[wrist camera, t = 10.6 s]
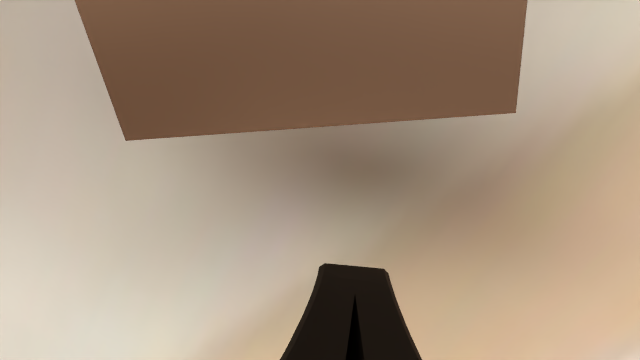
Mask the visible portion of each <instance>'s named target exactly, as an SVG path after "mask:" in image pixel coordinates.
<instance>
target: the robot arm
mask: <svg viewBox="0 0 640 360" xmlns="http://www.w3.org/2000/svg"><path fill="white" fill-rule="evenodd" d="M280 360H422V359H421V357H420V355H419V352H418V350H417V348H416V346H415V344H414V342H413V340H412V337H411V335H410V333H409V330H408V328H407V326H406V323H405V321H404V318H403V316H402V313H401V311H400V308H399V306H398V303H397V300H396V297H395V294H394V291H393V288H392V285H391V282H390V278H389V274H388V273H387V272H386V271H385V270H384V269H379V268H369V267H358V266H348V265H337V264H326V263H325V264H323V265H322V266H320V267H319V270H318V276H317V279H316V283H315V286H314V289H313V292H312V294H311V297H310V300H309V302H308V304H307V307H306V309H305V311H304V314H303V316H302V318H301V320H300V322H299V324H298V326H297V328H296V330H295V332H294V334H293V336H292V338H291V340H290V342H289V344H288V346H287V348H286V350H285V352H284V354H283V355H282V357H281V359H280Z"/></svg>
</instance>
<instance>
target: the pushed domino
mask: <svg viewBox="0 0 640 360" xmlns="http://www.w3.org/2000/svg"><path fill="white" fill-rule="evenodd" d="M75 2H76V5H77V8H78V11H79V13H80V16H81V19H82V22H83V24H84V27H85V30H86V33H87V35H88V38H89V41H90V44H91V46H92V49H93V52H94V55H95V57H96V60H97V63H98V66H99V68H100V71H101V74H102V77H103V79H104V82H105V85H106V88H107V90H108V93H109V96H110V99H111V101H112V104H113V107H114V110H115V112H116V115H117V118H118V121H119V123H120V126H121V129H122V132H123V134H124V137H125V140H126V141H128V140H142V139H156V138H170V137H184V136H198V135H212V134H226V133H240V132H254V131H268V130H282V129H296V128H310V127H324V126H338V125H352V124H366V123H380V122H394V121H408V120H422V119H436V118H450V117H464V116H478V115H492V114H506V113H516V105H517V95H518V85H519V76H520V66H521V56H522V47H523V37H524V27H525V18H526V8H527V0H75Z"/></svg>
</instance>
